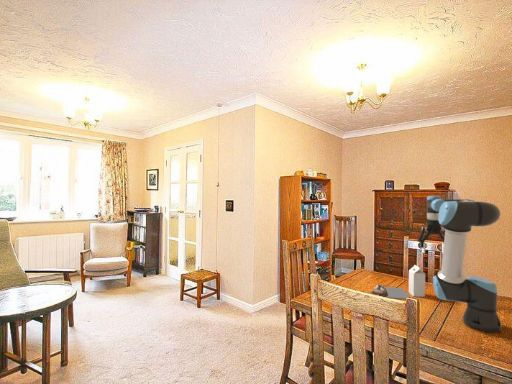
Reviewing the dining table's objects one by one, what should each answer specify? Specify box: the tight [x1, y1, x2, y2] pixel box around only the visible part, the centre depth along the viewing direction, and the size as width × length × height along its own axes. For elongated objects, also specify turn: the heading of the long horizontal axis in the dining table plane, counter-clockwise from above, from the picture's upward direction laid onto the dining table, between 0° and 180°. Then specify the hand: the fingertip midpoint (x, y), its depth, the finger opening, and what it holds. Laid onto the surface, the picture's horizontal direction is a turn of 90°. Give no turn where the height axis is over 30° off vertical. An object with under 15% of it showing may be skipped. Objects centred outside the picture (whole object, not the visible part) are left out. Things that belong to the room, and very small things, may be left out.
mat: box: [385, 286, 411, 300], centre depth 182 cm, size 20×17×1 cm
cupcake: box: [370, 284, 388, 297], centre depth 167 cm, size 10×10×10 cm
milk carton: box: [408, 264, 426, 298], centre depth 179 cm, size 7×7×19 cm
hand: (433, 253), depth 177 cm, fingers open, 11 cm apart
